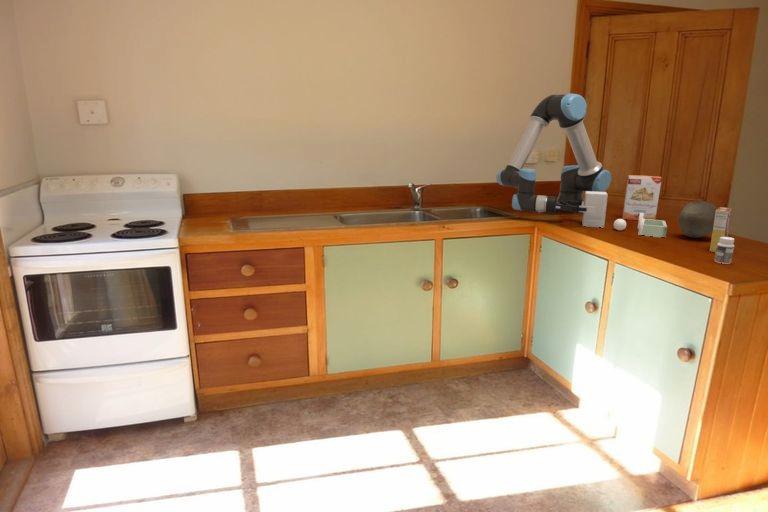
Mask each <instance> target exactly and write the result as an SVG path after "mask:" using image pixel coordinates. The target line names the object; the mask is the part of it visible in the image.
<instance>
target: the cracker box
mask: <svg viewBox="0 0 768 512" xmlns="http://www.w3.org/2000/svg"><path fill="white" fill-rule="evenodd" d="M662 179H663V178H662V177H661V176H655V175H654V176H652V175H634V174H632V175H631V174H628V175H627V180H626V189H625V196H624V202H623V210H622V218H621V219H623V220H626V219H627V220H628V221H638V222H639V215H640V213H644V216H643V218H644V219H652V220H656V218H657V211H658V204H659V198H660V192H661V186H662Z"/></svg>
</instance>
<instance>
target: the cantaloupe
mask: <svg viewBox="0 0 768 512" xmlns="http://www.w3.org/2000/svg"><path fill="white" fill-rule="evenodd" d="M717 209H718V208H717V206H715V204H713V203H710V202H708V201H705V200H704V201H703V200H695V201H691V202H689V203H687V204H686V205H684V207H683V208H682V210H681V212H680V214H679V216H678V225H679V228H680V231H681V232H682V234H684V235H686V237H689V238H691V239H699V238H703V237H706V236H708V235H710V234H712V231H713V225H714V219H715V212H716V210H717Z"/></svg>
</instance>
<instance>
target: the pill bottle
mask: <svg viewBox="0 0 768 512" xmlns="http://www.w3.org/2000/svg"><path fill="white" fill-rule="evenodd" d="M719 241H720V242H719V243H718V244H717V249H716V252H715V254H714V262H715V263H717V264H721V263H722V264H723V265H730V264H731V263H732V259H733V255H734V249H735V245H734V243H735V238H734V237H729V236H727V237H720V240H719ZM722 264H721V265H722Z"/></svg>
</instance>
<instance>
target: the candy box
mask: <svg viewBox="0 0 768 512" xmlns="http://www.w3.org/2000/svg"><path fill="white" fill-rule="evenodd" d="M732 211H733V208H732V207H722V206H720V207H718V208H717V210H716V212H715V219H714V225H713V231H712V232H711V240H710V246H709V252H710V251H711V252H710V253H716V249H717V244H718V243H719V242H720V241H719V240H720V237H729V236H728V235H729V229H730V224H731V217H732Z"/></svg>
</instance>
